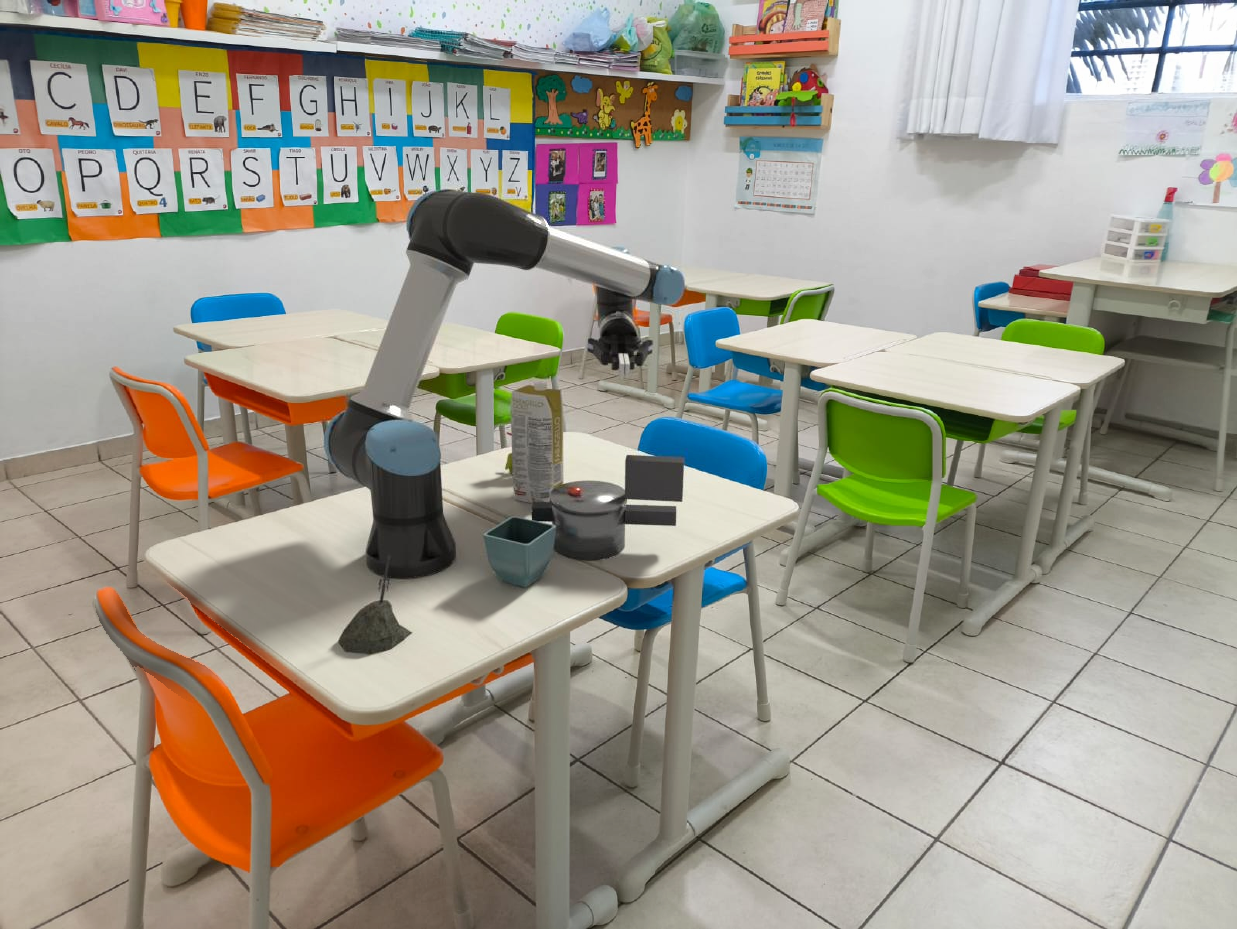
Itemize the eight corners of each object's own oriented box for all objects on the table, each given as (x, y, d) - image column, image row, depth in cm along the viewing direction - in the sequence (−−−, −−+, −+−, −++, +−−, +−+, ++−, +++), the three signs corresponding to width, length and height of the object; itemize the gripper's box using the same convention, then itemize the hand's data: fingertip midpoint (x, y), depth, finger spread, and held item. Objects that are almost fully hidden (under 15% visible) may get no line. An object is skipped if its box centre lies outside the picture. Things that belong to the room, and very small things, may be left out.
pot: (528, 558, 152) (526, 513, 149) (538, 528, 164) (537, 486, 161) (675, 564, 150) (676, 518, 147) (674, 532, 163) (676, 490, 160)
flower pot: (483, 584, 143) (481, 533, 140) (514, 563, 150) (512, 514, 147) (528, 596, 139) (527, 545, 136) (557, 574, 146) (557, 525, 143)
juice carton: (568, 496, 179) (567, 382, 170) (547, 509, 172) (545, 391, 164) (530, 488, 183) (527, 376, 175) (508, 500, 176) (504, 385, 168)
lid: (543, 512, 148) (542, 467, 146) (556, 483, 161) (556, 441, 158) (681, 519, 146) (682, 473, 144) (683, 489, 159) (685, 447, 156)
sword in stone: (360, 664, 121) (350, 585, 117) (330, 645, 126) (319, 569, 122) (421, 636, 128) (413, 561, 124) (390, 619, 133) (381, 547, 129)
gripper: (586, 316, 175) (588, 350, 153) (651, 318, 176) (663, 351, 154) (585, 352, 178) (587, 390, 156) (649, 354, 179) (660, 392, 157)
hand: (624, 371), depth 155 cm, fingers closed
